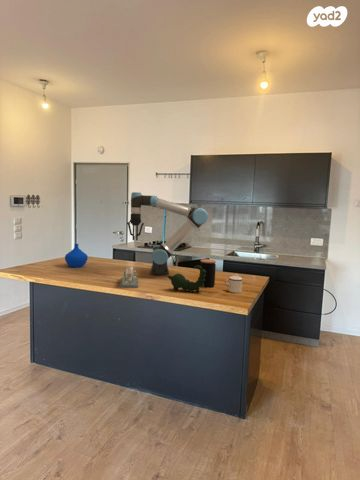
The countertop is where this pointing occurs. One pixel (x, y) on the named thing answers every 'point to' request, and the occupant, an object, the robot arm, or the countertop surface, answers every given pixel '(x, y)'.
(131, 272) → the slat
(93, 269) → the countertop surface
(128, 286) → the base board
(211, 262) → the coffee jar
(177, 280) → the toy figurine
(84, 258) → the vase
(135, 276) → the front end cap
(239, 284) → the teacup with lid
